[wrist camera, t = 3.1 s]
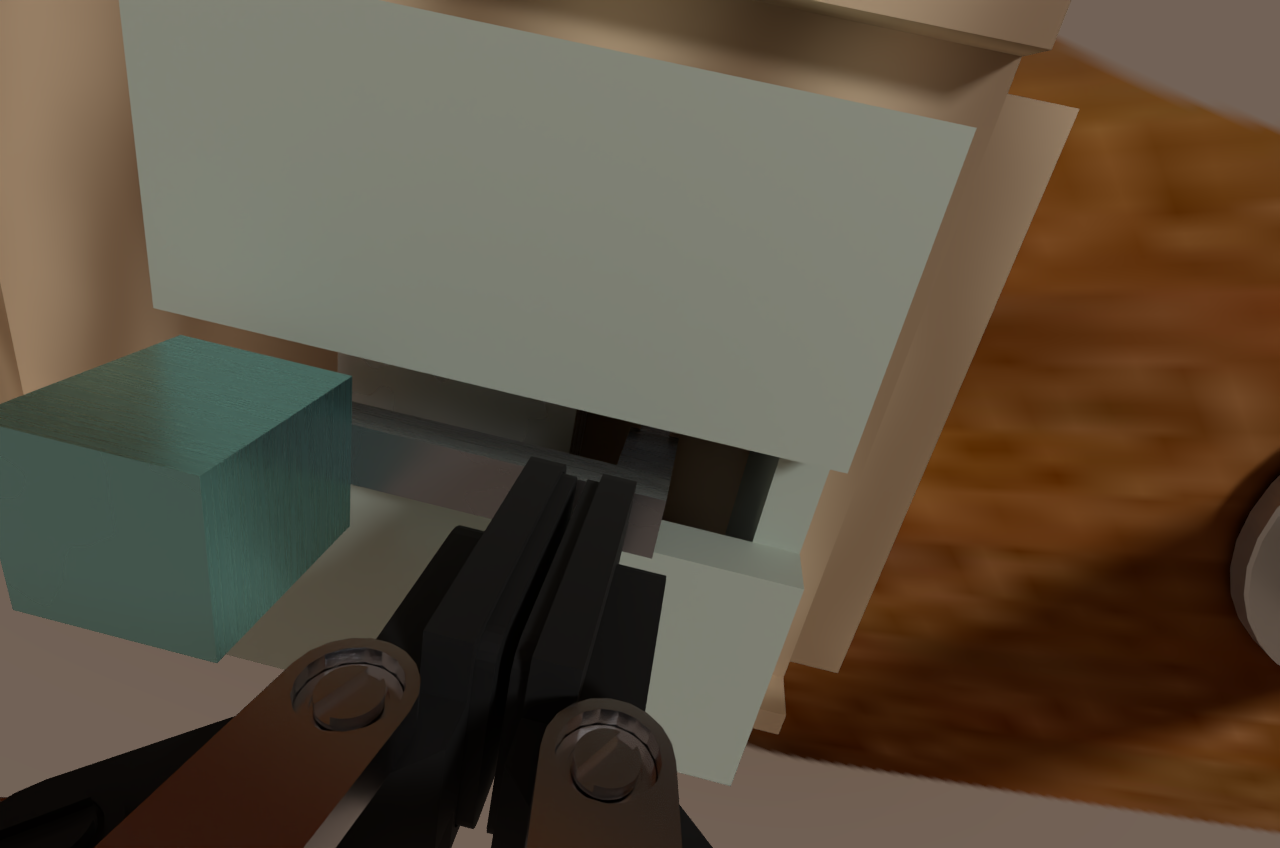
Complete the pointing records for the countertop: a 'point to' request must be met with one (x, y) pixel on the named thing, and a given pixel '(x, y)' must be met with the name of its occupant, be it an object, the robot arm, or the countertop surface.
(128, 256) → the shallow beige tray
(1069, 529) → the countertop surface
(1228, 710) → the countertop surface
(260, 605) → the bar
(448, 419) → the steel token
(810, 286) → the pale green panels
